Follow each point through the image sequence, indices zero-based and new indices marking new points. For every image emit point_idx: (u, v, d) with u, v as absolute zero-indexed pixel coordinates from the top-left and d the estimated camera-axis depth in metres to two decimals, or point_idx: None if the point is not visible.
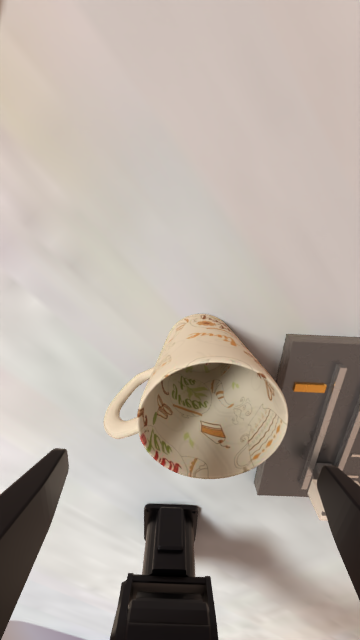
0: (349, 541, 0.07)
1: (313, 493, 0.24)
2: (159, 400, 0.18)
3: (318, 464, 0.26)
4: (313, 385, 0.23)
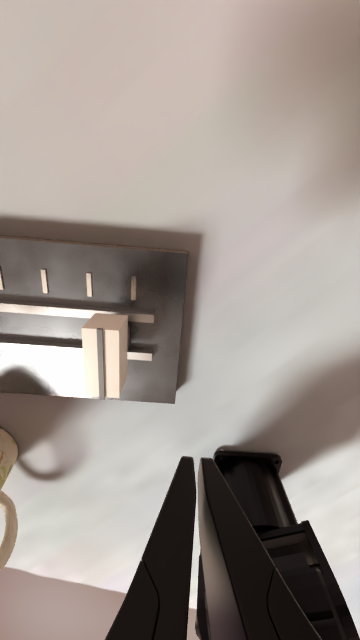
0: (203, 533, 0.07)
1: None
2: None
3: None
4: None
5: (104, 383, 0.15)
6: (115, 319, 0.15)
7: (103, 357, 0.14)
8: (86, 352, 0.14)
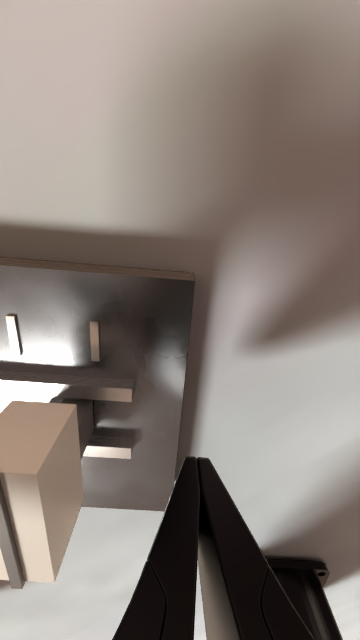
0: (199, 533, 0.07)
1: None
2: None
3: None
4: None
5: (19, 561, 0.07)
6: (45, 422, 0.07)
7: (10, 520, 0.06)
8: None
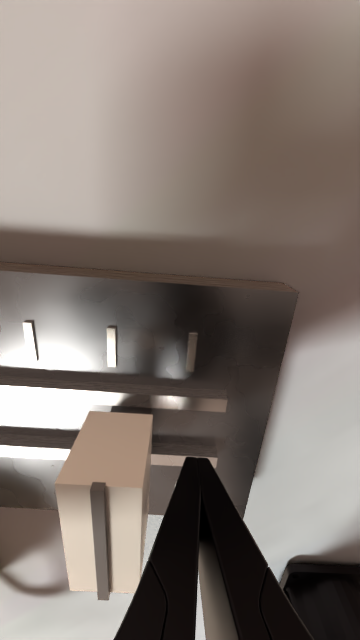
0: None
1: None
2: None
3: None
4: None
5: (108, 572, 0.07)
6: (130, 434, 0.07)
7: (106, 533, 0.06)
8: (67, 524, 0.06)
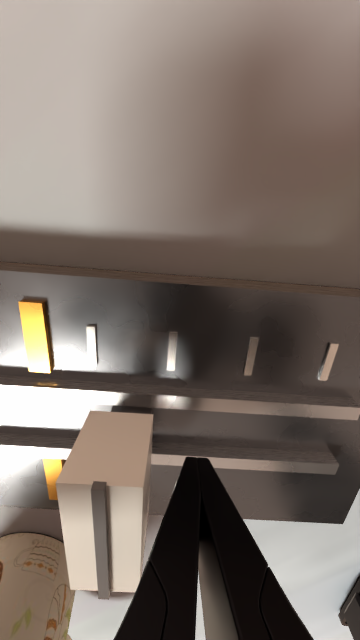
0: None
1: None
2: None
3: None
4: (47, 475, 0.12)
5: (109, 572, 0.07)
6: (131, 433, 0.07)
7: (108, 532, 0.06)
8: (68, 524, 0.06)
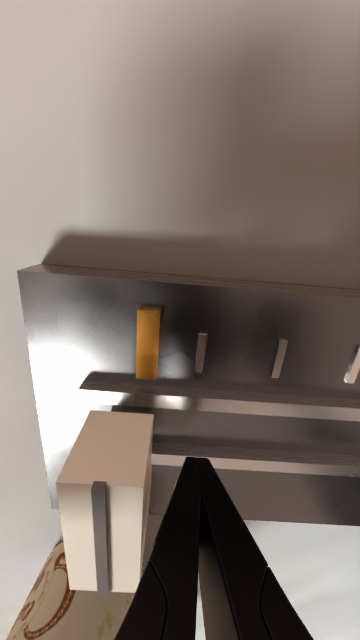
0: None
1: None
2: None
3: None
4: None
5: (108, 572, 0.07)
6: (131, 433, 0.07)
7: (107, 532, 0.06)
8: (68, 523, 0.06)
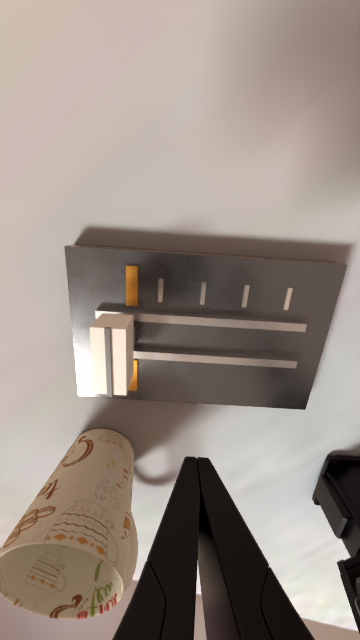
0: (199, 533, 0.07)
1: None
2: None
3: None
4: None
5: (111, 381, 0.15)
6: (121, 319, 0.16)
7: (111, 355, 0.15)
8: (94, 350, 0.15)
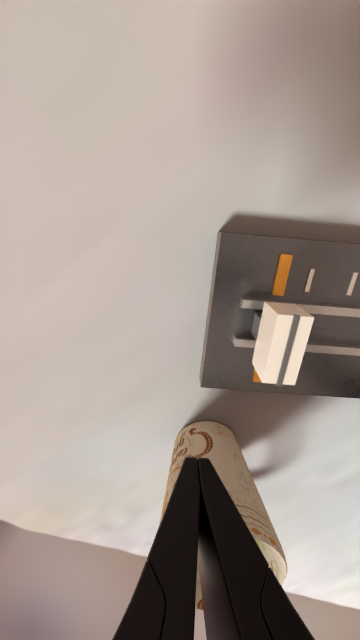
0: (199, 533, 0.07)
1: None
2: None
3: (252, 330, 0.19)
4: None
5: (284, 370, 0.15)
6: (292, 307, 0.15)
7: (291, 343, 0.14)
8: (275, 338, 0.14)
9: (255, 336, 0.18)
